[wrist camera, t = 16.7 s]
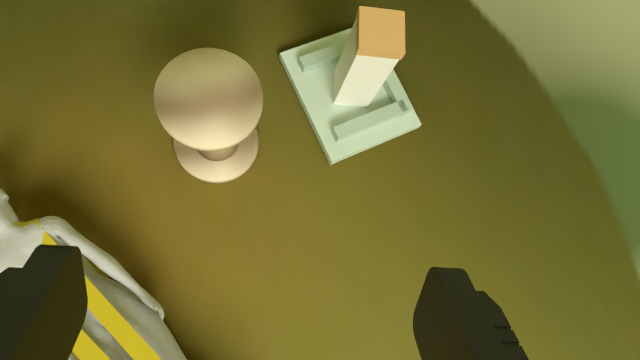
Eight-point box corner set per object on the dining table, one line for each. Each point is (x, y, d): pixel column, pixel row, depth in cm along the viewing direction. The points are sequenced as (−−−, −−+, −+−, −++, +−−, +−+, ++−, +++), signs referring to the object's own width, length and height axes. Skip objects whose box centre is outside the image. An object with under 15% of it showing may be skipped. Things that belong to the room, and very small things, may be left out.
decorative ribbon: (198, 535, 33) (-90, 224, 34) (212, 490, 39) (-34, 226, 40) (280, 448, 34) (-2, 150, 35) (282, 417, 40) (40, 162, 41)
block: (332, 104, 46) (359, 48, 35) (332, 70, 47) (359, 5, 36) (368, 108, 46) (405, 53, 36) (368, 74, 47) (404, 11, 37)
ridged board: (279, 57, 47) (280, 46, 45) (366, 27, 50) (371, 15, 48) (329, 164, 46) (334, 158, 43) (417, 128, 48) (426, 120, 46)
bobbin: (162, 122, 44) (137, 67, 33) (239, 94, 46) (238, 34, 35) (193, 196, 43) (177, 163, 32) (271, 164, 45) (280, 124, 34)
